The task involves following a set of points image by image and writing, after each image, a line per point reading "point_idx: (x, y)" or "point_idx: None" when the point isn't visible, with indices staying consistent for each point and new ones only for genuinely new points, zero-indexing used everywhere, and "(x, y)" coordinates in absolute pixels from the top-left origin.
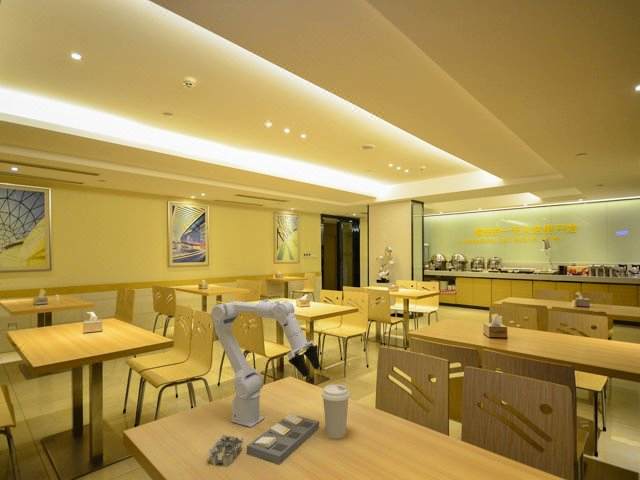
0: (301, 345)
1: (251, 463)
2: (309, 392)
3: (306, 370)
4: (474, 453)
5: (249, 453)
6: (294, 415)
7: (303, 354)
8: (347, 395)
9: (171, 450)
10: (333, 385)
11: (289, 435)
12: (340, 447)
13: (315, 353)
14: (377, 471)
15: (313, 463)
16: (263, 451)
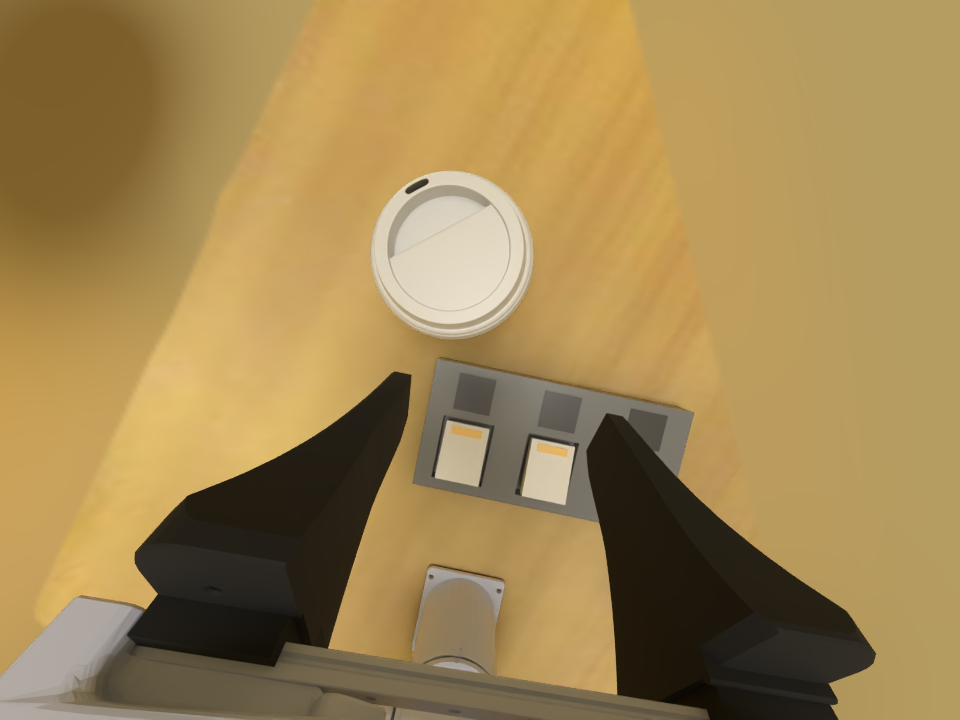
0: None
1: (693, 486)
2: (156, 484)
3: (646, 447)
4: None
5: None
6: (438, 459)
7: (774, 609)
8: (473, 174)
9: None
10: (394, 278)
11: (567, 427)
12: (542, 253)
13: (350, 469)
14: (641, 114)
15: (649, 312)
16: (678, 471)
